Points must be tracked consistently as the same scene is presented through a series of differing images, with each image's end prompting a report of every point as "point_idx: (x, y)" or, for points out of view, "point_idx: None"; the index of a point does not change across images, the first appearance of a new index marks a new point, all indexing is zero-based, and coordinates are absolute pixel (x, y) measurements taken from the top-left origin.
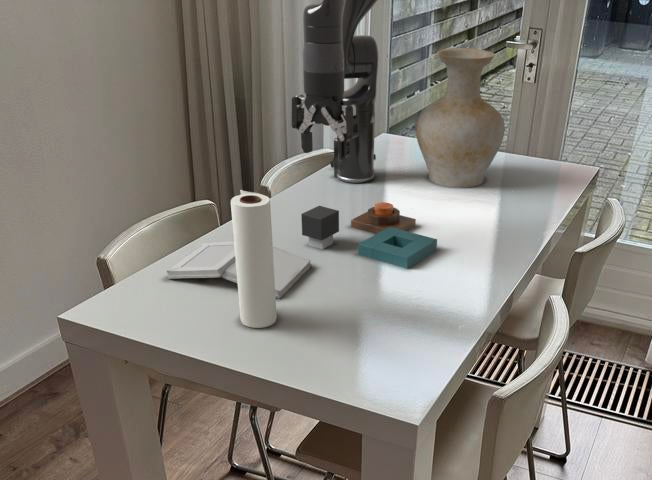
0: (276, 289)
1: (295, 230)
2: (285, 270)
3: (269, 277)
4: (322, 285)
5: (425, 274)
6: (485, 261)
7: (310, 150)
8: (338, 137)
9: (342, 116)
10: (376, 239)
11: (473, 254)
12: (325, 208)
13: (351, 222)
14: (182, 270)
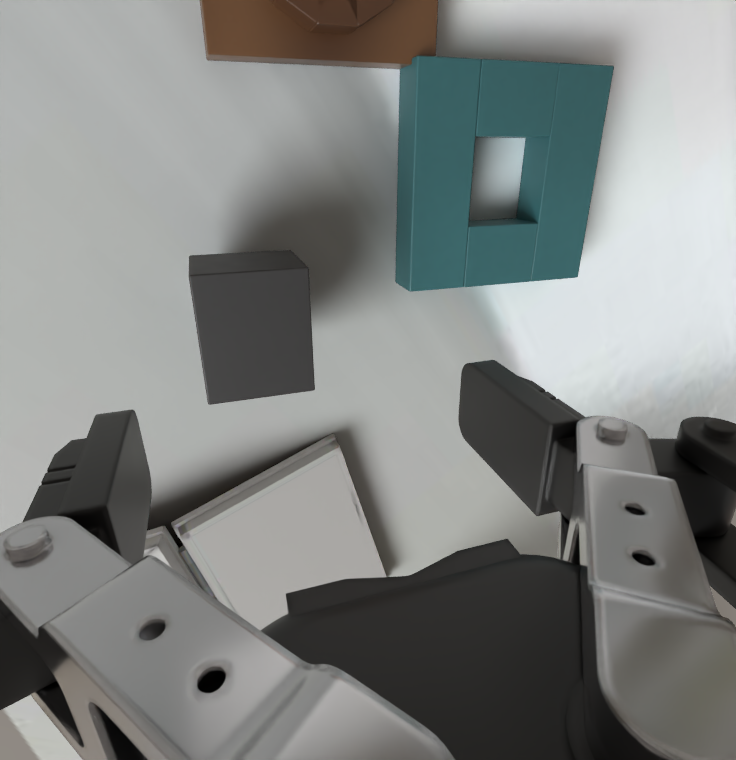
0: None
1: (47, 252)
2: (339, 537)
3: None
4: (421, 480)
5: (603, 263)
6: (726, 61)
7: (139, 438)
8: (558, 540)
9: (691, 558)
10: (440, 217)
11: (690, 25)
12: (241, 287)
13: (211, 57)
14: None
